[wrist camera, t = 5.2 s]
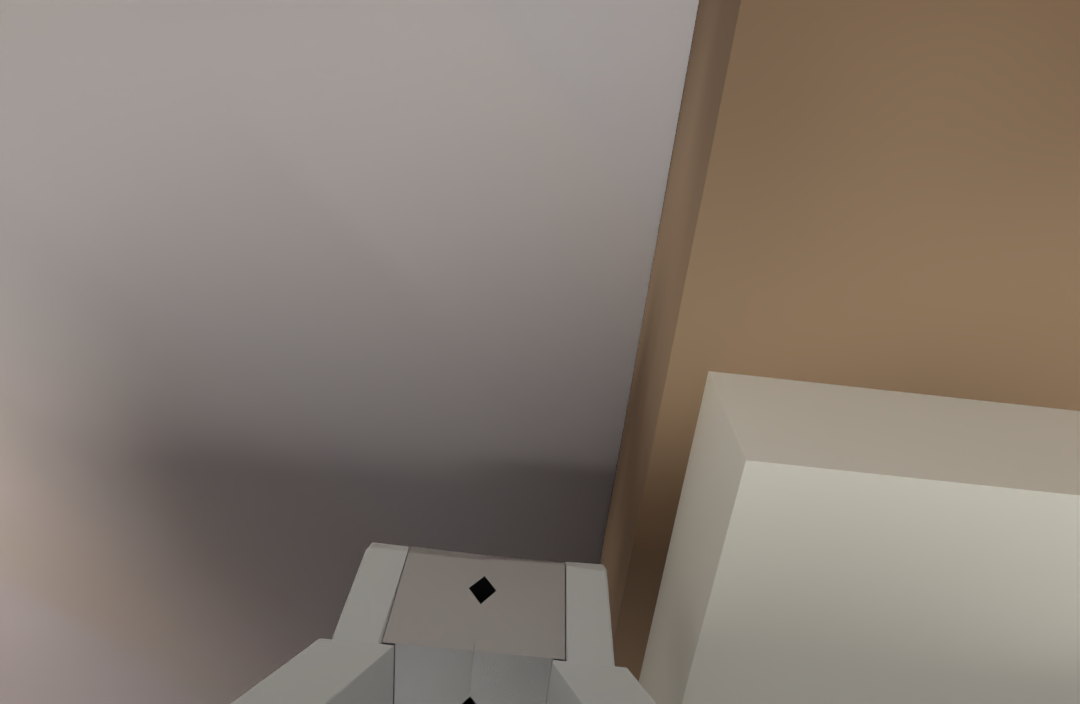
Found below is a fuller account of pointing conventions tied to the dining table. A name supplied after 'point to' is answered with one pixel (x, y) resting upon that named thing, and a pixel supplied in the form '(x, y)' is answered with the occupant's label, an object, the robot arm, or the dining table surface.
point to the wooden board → (853, 230)
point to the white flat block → (870, 551)
